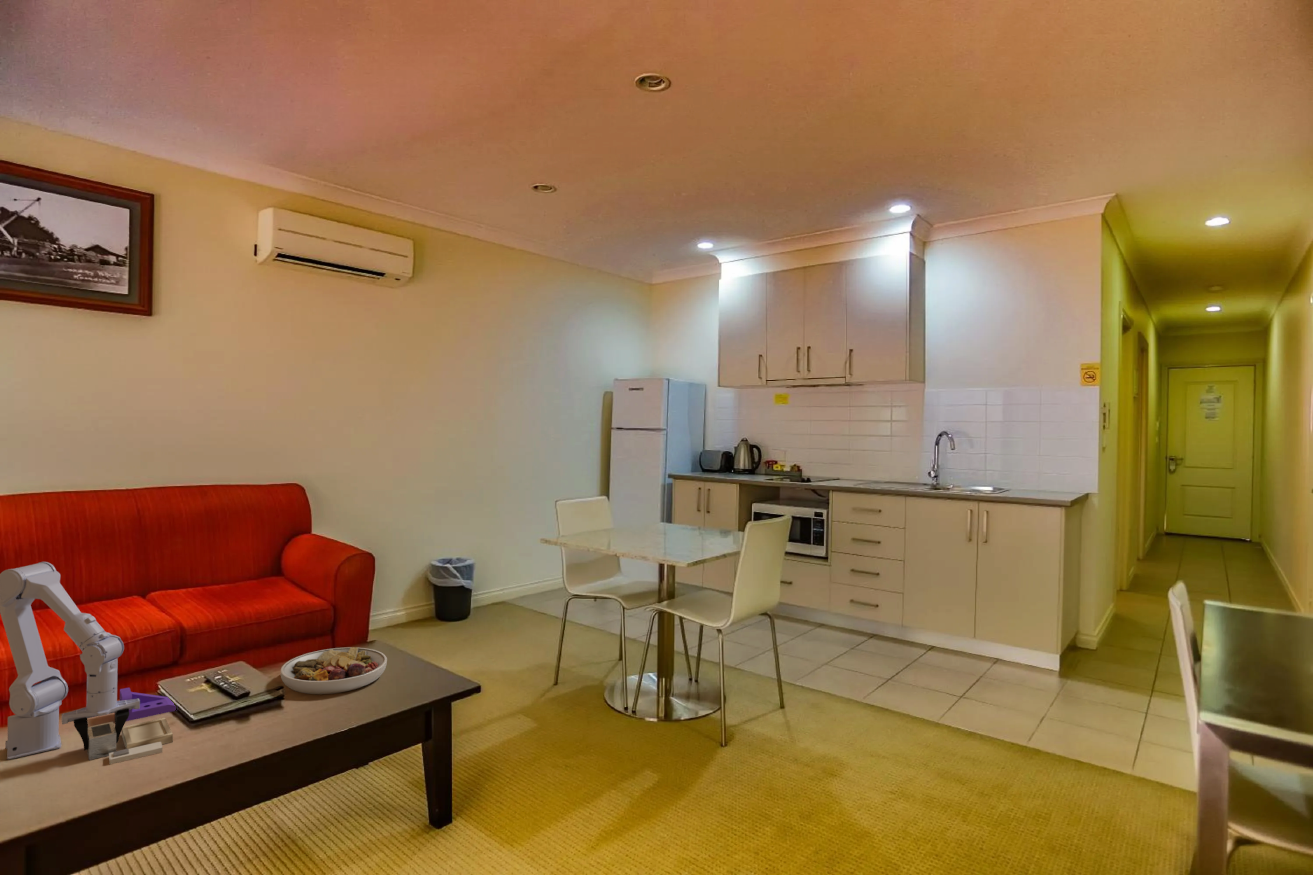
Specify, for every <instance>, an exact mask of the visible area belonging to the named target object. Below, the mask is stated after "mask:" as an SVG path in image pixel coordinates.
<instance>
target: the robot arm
mask: <svg viewBox="0 0 1313 875" xmlns="http://www.w3.org/2000/svg"><path fill="white" fill-rule="evenodd" d="M35 600H41V601H43V603H44V604H46V605H47V606H48V607H49V609H51V610H52V612H54V613H55V614H56V615H57V616H58V617H59V618H60V619H61V620H62V621H63V622H64V627H63V632H65V633H66V635H67V636H68V637H69V638H70V639H71V640H72V641H73V642H74V644H75V645H76V646H77V647H78V648H79V649H80V651H81V652H82V653H81V654H79V659H80V661H81V663H82V664H83V665H84V672H85V673H86V706H85V707H82V708H79V709H74V710H72V711H71V710H70V711H68V712H63V713H61V725H67V724H69V723H71V722H73V726H74V728H75V730H76V731H77V733H78V735H79V736H80V738H81V741H82V743H83V750H84V751H87V750H88V727H89V723H88V721H89V720H88V719H91V718H95V717H96V718H97V717H102V716H107V715H111V714H114V727H115V730H116V744H118V743H119V740H120V736H121V734H122V728H123V727H124V726H125V724H126V722H127V721H126V720H127V719H128V717H129V710H130V709H139V708H140V700H139V698H138V699H132V700H123V701H120V700H118V670H119V669H118V665H119V664H118V663H119V662H118V659H119V657H121V656H122V655H123V653H124V650H125V645H124V644H125V643H124V642H123V640H122V638H121V637H120V636H118V635H116V634H111V633H110V632H107V631H105V629H104V628H103V627H102V626H101V624H99V622H98V621H97V619H96V617H95V616H93V615H92V613H86V612H82V611H80V609H79V607H78V606H77V605H76V603H75V602H74V601H73V599H72V598H71V597H70V595H69V594H68V592H67V590H65V588H64V586H63V585H62V584H61V573H60V572H59V571H57V569H56V567H55V565H54V564H52V563H50V562H48V561H41V562H38V563H33V564H29V565H25V566H20V567H16V568H8V569H5V570H3V571H2V572H1V573H0V618H1V621H2V624H3V627H4V631H5V634H6V638H7V641H8V644H9V648H10V653H11V655H12V659H13V662H14V667H15V668H16V673H17V677H16V679H14V681H13V682H12V683H11V685H10V686H9V688H8V691H9V700H8V701H9V702H8V705H9V708H10V710H11V712H12V713H13V715H10V716H7V740H5V750H6V751H7V752H6V755H7V756H6V759H7V760H13V759H16V758H17V759H18V758H22V757H26V756H29V755H34V754H38V753H43V752H48V751H53V750H56V749H60V748H62V741H61V735H60V734H59V731H60V727H59V726H60V725H59V724H60V706H61V705H62V703H63V702H62V701H63V700H64V699H65V698H66V697H67V696H68V692H69V687H68V683H67V682H66V680H65V679H64V678H63V676H62V674H61V672H60V670H59V669H56V668H54V667H52V666H51V667H50V666H49V664H48V661H47V658H46V655H45V651H44V647H43V644H42V643H43V642H42V640H41V636H40V633H39V630H38V626H37V623H36V619H35V615H34V612H33V609H32V606H31V605H32V603H33V602H34V601H35Z"/></svg>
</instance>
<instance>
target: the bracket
mask: <svg viewBox="0 0 1313 875" xmlns="http://www.w3.org/2000/svg"><path fill="white" fill-rule="evenodd" d="M168 697H169V696H165V695H164V696H163V695H155V694H148V693H141V692H135V691H134V692H133V691H131V688H130V687H125V688H119V701H123V700H132V699H138V698H139V700H140V708H139V709H130V710H129V717H128V719H127V720H126V722H129V721H134V720H138V719H139V720H140V719H143V718H147V717H153V716H157V715H161V714H162V715H163V714H166V713H171V712H176V711H177V710H176V706H175V705H174V703H173V702H172V701H171V700H170V699H169V698H168ZM175 710H176V711H175Z"/></svg>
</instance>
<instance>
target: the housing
mask: <svg viewBox="0 0 1313 875" xmlns="http://www.w3.org/2000/svg"><path fill="white" fill-rule="evenodd" d="M116 751H117V743H116V730H115V722H114V721H110V722H104V723H100V724H95V725H90V726H88V750H86V753H87V756H88V760H89V761H92V760H96V759H100V758H104V757H109V753H112V752H116Z"/></svg>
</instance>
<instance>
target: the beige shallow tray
mask: <svg viewBox="0 0 1313 875" xmlns="http://www.w3.org/2000/svg"><path fill="white" fill-rule="evenodd" d="M121 738H122V740H123V743H124V747H125V749H130V748H134V747H139V746H143V745H147V744H152V743H156V742H161V743H162V745H166V744H171V743H173V740H174V739H173V738H174V734H173V731H172V730H171V727H170V725H169V723H168V721H167V718H166V717H162V718H160V717H159V718H156V719H152V720H147V721H142V722H138V723H133V724H129V725H124V726H123V728H122V731H121Z"/></svg>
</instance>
